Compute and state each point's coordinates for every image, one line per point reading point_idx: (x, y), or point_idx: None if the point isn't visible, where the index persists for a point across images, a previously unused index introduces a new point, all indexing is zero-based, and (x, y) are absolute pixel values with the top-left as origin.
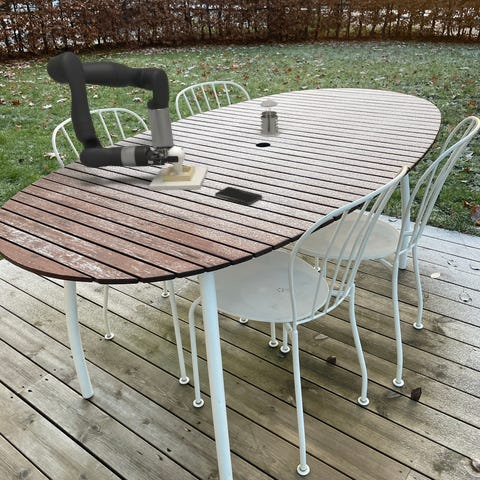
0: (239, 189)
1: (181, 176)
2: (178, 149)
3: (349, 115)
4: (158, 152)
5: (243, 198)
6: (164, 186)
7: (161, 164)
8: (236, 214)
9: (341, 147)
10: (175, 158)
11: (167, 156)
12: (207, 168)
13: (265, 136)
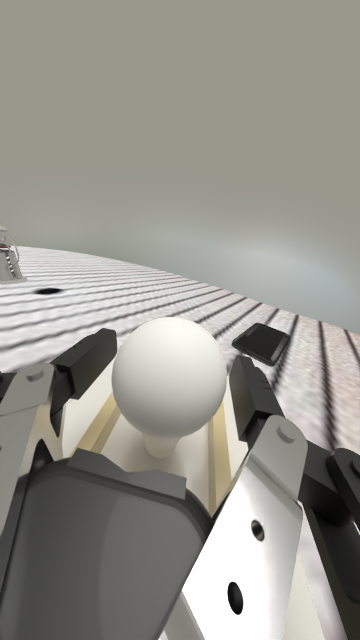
0: (241, 334)
1: (224, 419)
2: (197, 325)
3: (44, 258)
4: (187, 580)
5: (273, 336)
6: (298, 558)
7: (352, 523)
8: (328, 352)
9: (125, 275)
10: (259, 372)
11: (270, 412)
12: (116, 354)
13: (11, 283)
